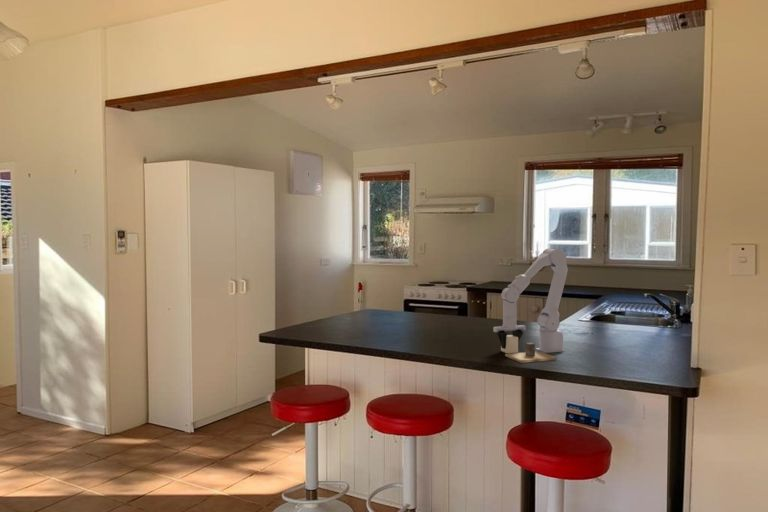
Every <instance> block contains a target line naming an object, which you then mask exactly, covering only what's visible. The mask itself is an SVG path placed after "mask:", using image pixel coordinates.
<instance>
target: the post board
mask: <svg viewBox="0 0 768 512" xmlns="http://www.w3.org/2000/svg"><path fill="white" fill-rule="evenodd" d="M535 348H536V343H534V342H526V343H525V352H518V353H505V354H504V356H505V357H507V358H509V359H511V360H512V361H514V362H518V363H520V364H525V363H534V362H535V363H536V362H547V361H556V360H557V357H556V356H553V355H551V354H549V353H544V352H542V351H539V350H536V349H535Z"/></svg>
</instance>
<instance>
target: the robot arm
mask: <svg viewBox="0 0 768 512" xmlns="http://www.w3.org/2000/svg"><path fill="white" fill-rule="evenodd" d="M566 259H567V255H566V254H565V253H564V252H563V250H561V249H559V248H558V249H556V248H555V249H554V248H546V249H544V250H543V251H542V252H541V253H540V254H539V255H538V257H536V259H535V260H534V262H532V264H531V265H530V266H529V268H528V269H527V270H526V271H525V272H524V273H523V274H519V275H516V276H515V277H514V279H513V281H512V282H511V283H510V284H508V285H507V287H505V288H503V289H502V290H501V291H502V292H501V294H500V297H501V299H502V325H499V326H493V328H492V329H493V330H492V331H493V332H494V333H496V335H497V337H498V340H499V341H500V348H501V347H502V348H504V349H505V348H506V336H507V335H508V333H506V332H512V335H514V336H516V337H518V344H519V342H520V340H521V338H522V336H523V335H524V331H526V329H527V325H524V324H517V322H518V321H517V320H518V319H517V315H518V313H517V309H518V308H517V301H518V300H519V299H520V295H521V294H522V293H523V291H525V289H527V288H528V286H529V285H531V284H530V283H531V279H532V278H533V277H534V276H535V275H536V274H537V273H538V272H539V271H540V270H541V269H542V268H543V267H548V266H550V268H551V270H552V271H553V275H552V279H551V283H550V286H549V287H550V288H549V291H548V295H547V299H546V301H545V302H546V303H545V305H544V307H543V308H542V309H541V312H540V314H539V316H538V317H537V320H536V322H537V324H538V326H539V346H538V347H535V351H540V352H543V353H545V354H549V353H559V352H560V353H561V352H563V353H564V352H565V350H564V334H563V332H562V331H561V330H560V329H559V328H560V325H561V324H560V316H561V315H560V312H559V307H560V303H561V300H562V299H561V298H562V295H563V292H564V287H565V283H566V280H567V275H568V272H569V269H568V264H567V263H568V262H567V260H566Z"/></svg>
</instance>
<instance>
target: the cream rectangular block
mask: <svg viewBox="0 0 768 512" xmlns="http://www.w3.org/2000/svg"><path fill="white" fill-rule="evenodd" d="M500 351H501V352H503V353H505V354H510V353H519V343H518V337H516V336H514V335H513V334H507V336H506V348H505V349H504V348H502V347H501V346H500Z"/></svg>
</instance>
